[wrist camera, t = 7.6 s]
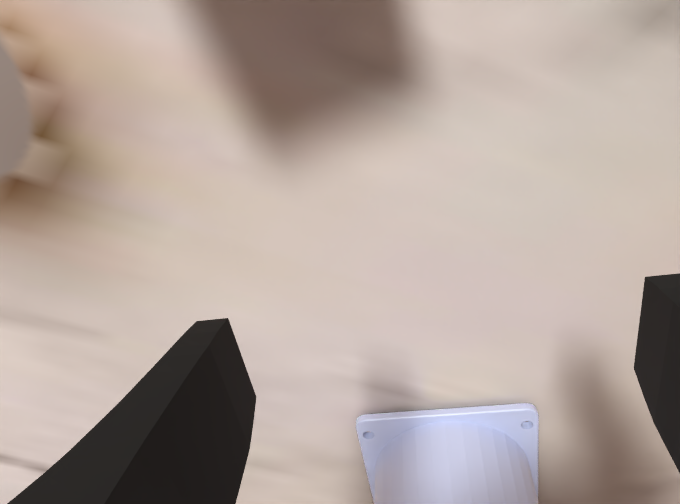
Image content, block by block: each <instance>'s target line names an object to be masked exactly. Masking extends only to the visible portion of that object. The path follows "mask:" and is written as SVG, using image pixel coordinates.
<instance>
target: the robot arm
mask: <svg viewBox="0 0 680 504" xmlns="http://www.w3.org/2000/svg"><path fill="white" fill-rule="evenodd" d="M634 370H635V373H636V375H637V378H638V381H639V384H640V387H641V390H642V392H643V395H644V398H645V401H646V403H647V406H648V409H649V411H650V414H651V416H652V419H653V422H654V424H655V426H656V428H657V430H658V432H659V434H660V436H661V438H662V440H663V442H664V444H665V446H666V447H667V449H668V451H669V453H670V455H671V457H672V459H673V461H674V463H675V465H676V467H677V469H678V471H679V472H680V274H670V275H660V276H650V277H645V282H644V290H643V298H642V307H641V315H640V323H639V331H638V339H637V347H636V355H635V363H634ZM255 403H256V395H255V392H254V389H253V387H252V384H251V381H250V378H249V376H248V373H247V370H246V367H245V364H244V362H243V359H242V356H241V353H240V350H239V348H238V345H237V342H236V339H235V336H234V334H233V331H232V328H231V325H230V322H229V320H228V318H225V319H215V320H205V321H197V322H196V323H195V324H193V325H192V326H191V327H190V328H189V329H188V330H187V331H186V332H185V333H184V335H183V336H182V337H181V338H180V339H179V340H178V341H177V342H176V343H175V344H174V345H173V346H172V347H171V348H170V349H169V350H168V352H167V353H166V354H165V355H164V356H163V357H162V358H161V359H160V360H159V361H158V362H157V363H156V364H155V366H154V367H153V368H152V369H151V370H150V371H149V372H148V373H147V374H146V375H145V376H144V377H143V378H142V379H141V380H140V381H139V382H138V383H137V384H136V386H135V387H134V388H133V389H132V390H131V391H130V392H129V393H128V394H127V395H126V396H125V397H124V398H123V399H122V400H121V401H120V402H119V403H118V404H117V405H116V406H115V407H114V408H113V409H112V410H111V411H110V412H109V413H108V414H107V415H106V416H105V417H104V418H103V419H102V420H101V421H100V422H99V423H98V424H97V425H96V426H95V427H94V428H93V429H92V430H91V431H89V432H88V433H87V434H86V435H85V436H84V437H83V438H82V439H81V440H80V441H79V442H78V443H77V444H76V445H75V446H74V447H73V448H72V449H71V450H70V451H69V452H68V453H66V454H65V455H64V456H63V457H62V458H61V459H60V460H59V461H58V462H56V463H55V464H54V465H53V466H52V467H51V468H50V469H48V470H47V471H46V472H45V473H44V474H43V475H41V476H40V477H39V478H38V479H37V480H35V481H34V482H33V483H32V484H31V485H29V486H28V487H27V488H26V489H25V490H23V491H22V492H21V493H20V494H19V495H17V496H16V497H15V498H14V499H13V500H11V501H10V502H9V503H8V504H235V503H236V499H237V496H238V492H239V488H240V484H241V480H242V476H243V473H244V469H245V465H246V461H247V457H248V453H249V449H250V442H251V435H252V428H253V420H254V412H255ZM525 421H528V422H525ZM538 427H539V415H538V412H537V408H536V407H535V406H534V405H532V404H530V403H520V404H505V405H491V406H477V407H462V408H448V409H434V410H419V411H405V412H391V413H376V414H364V415H361V416H359V417H358V418H357V420H356V430H357V434H358V439H359V443H360V447H361V451H362V455H363V459H364V464H365V468H366V472H367V476H368V480H369V485H370V489H371V493H372V497H373V501H374V504H539V503H538ZM367 431H368V432H367Z"/></svg>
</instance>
